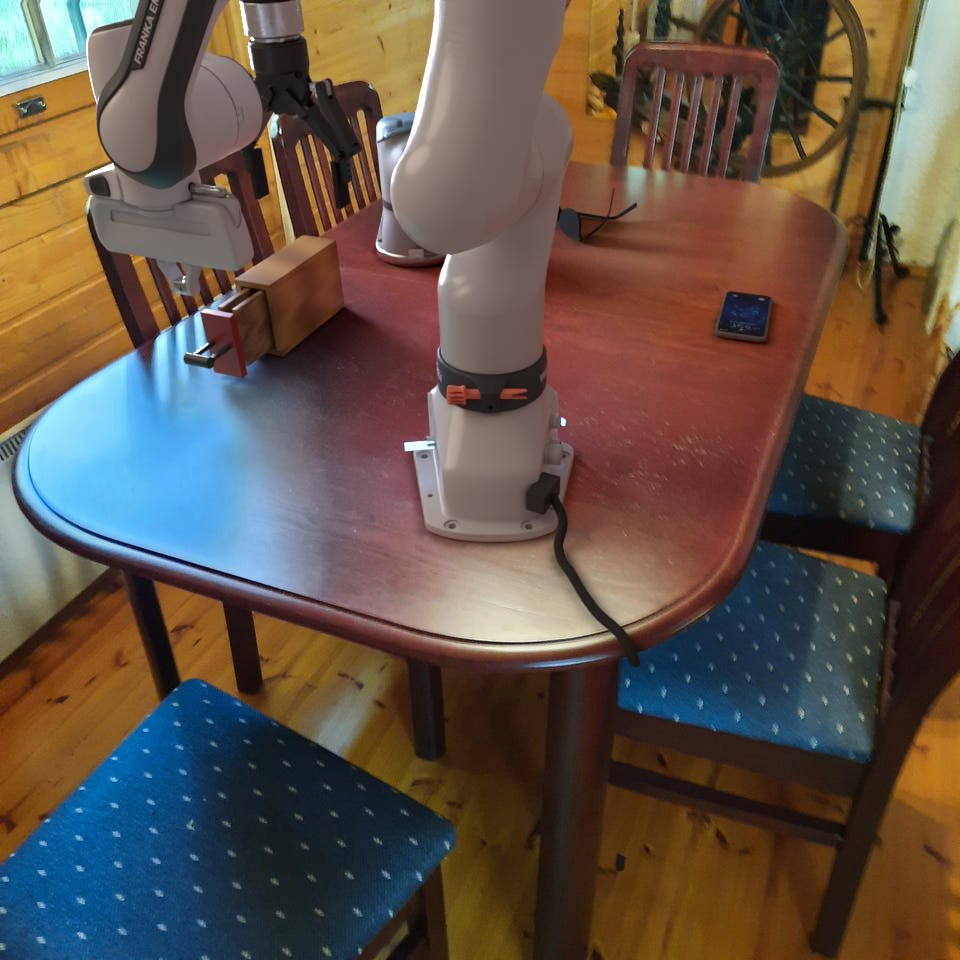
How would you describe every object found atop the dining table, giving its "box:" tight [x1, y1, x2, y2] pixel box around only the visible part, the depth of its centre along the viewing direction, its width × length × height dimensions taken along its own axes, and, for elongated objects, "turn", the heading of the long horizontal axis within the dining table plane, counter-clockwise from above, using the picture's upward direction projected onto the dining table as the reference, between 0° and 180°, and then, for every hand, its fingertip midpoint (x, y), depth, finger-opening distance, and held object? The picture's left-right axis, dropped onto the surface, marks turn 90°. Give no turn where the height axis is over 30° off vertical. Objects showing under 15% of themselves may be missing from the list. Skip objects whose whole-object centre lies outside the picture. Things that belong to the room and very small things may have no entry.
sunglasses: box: [556, 187, 638, 242], centre depth 159 cm, size 17×14×5 cm
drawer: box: [182, 287, 276, 379], centre depth 117 cm, size 22×5×9 cm, turn 157°
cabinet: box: [233, 234, 345, 357], centre depth 126 cm, size 18×6×11 cm, turn 157°
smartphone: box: [714, 290, 774, 343], centre depth 128 cm, size 7×1×15 cm
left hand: (302, 201), depth 123 cm, fingers open, 13 cm apart
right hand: (187, 293), depth 105 cm, fingers closed
